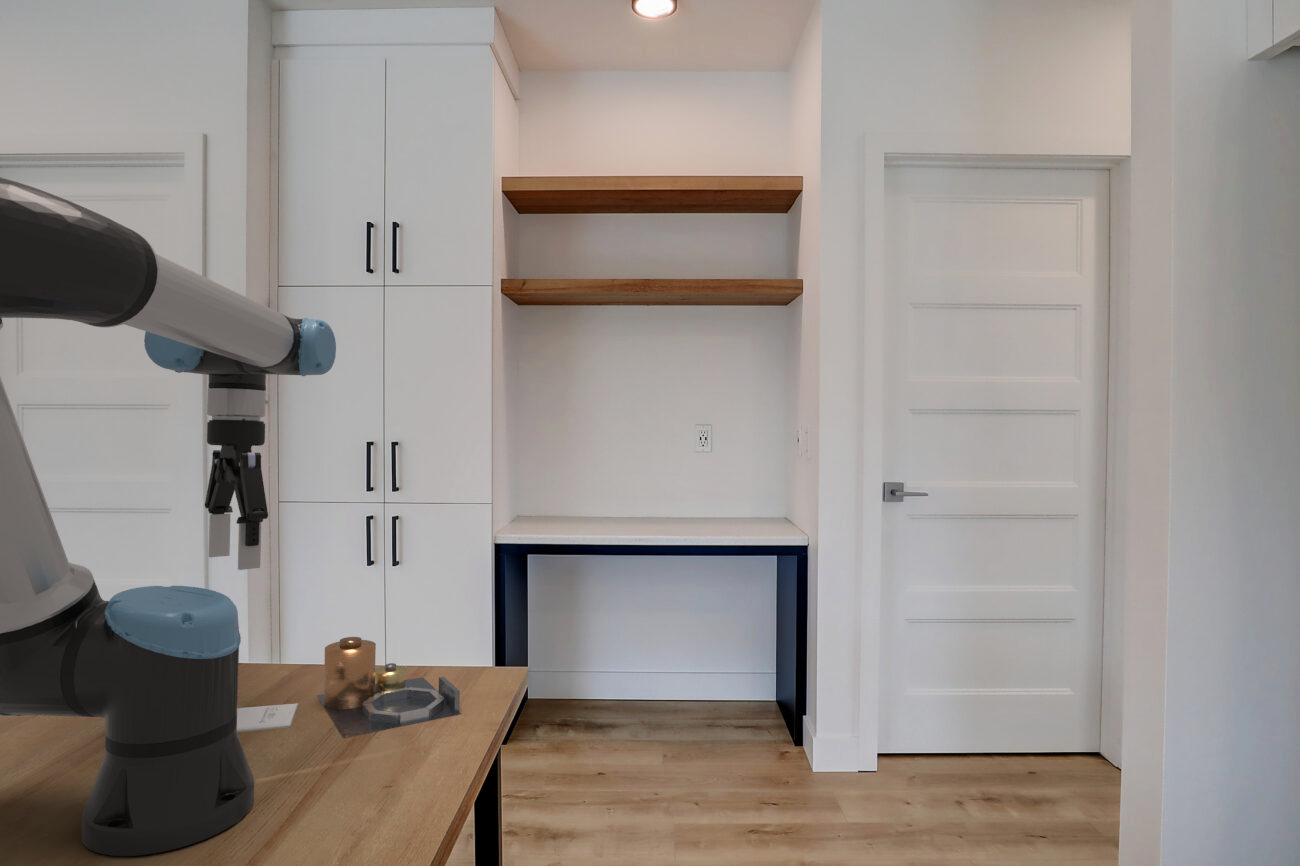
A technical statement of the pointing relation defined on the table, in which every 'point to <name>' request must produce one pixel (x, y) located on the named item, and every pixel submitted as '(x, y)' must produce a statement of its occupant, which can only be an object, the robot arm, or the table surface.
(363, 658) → the copper knobbed cylinder
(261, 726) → the external hard drive
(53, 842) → the table surface
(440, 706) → the plate
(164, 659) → the robot arm
